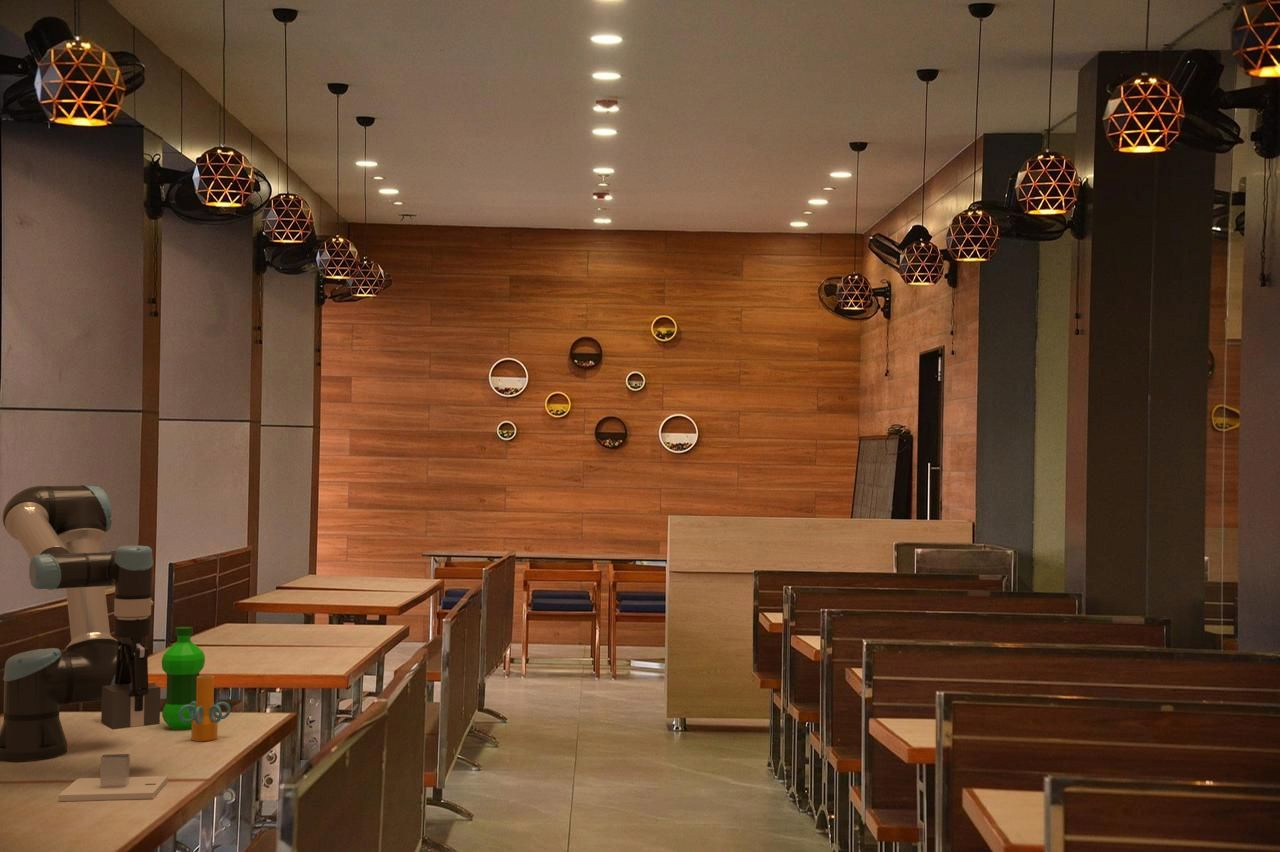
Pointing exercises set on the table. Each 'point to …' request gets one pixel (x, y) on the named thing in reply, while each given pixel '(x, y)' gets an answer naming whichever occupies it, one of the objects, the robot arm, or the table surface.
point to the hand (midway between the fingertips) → (130, 722)
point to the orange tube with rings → (204, 711)
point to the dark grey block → (128, 705)
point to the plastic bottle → (181, 677)
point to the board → (113, 792)
